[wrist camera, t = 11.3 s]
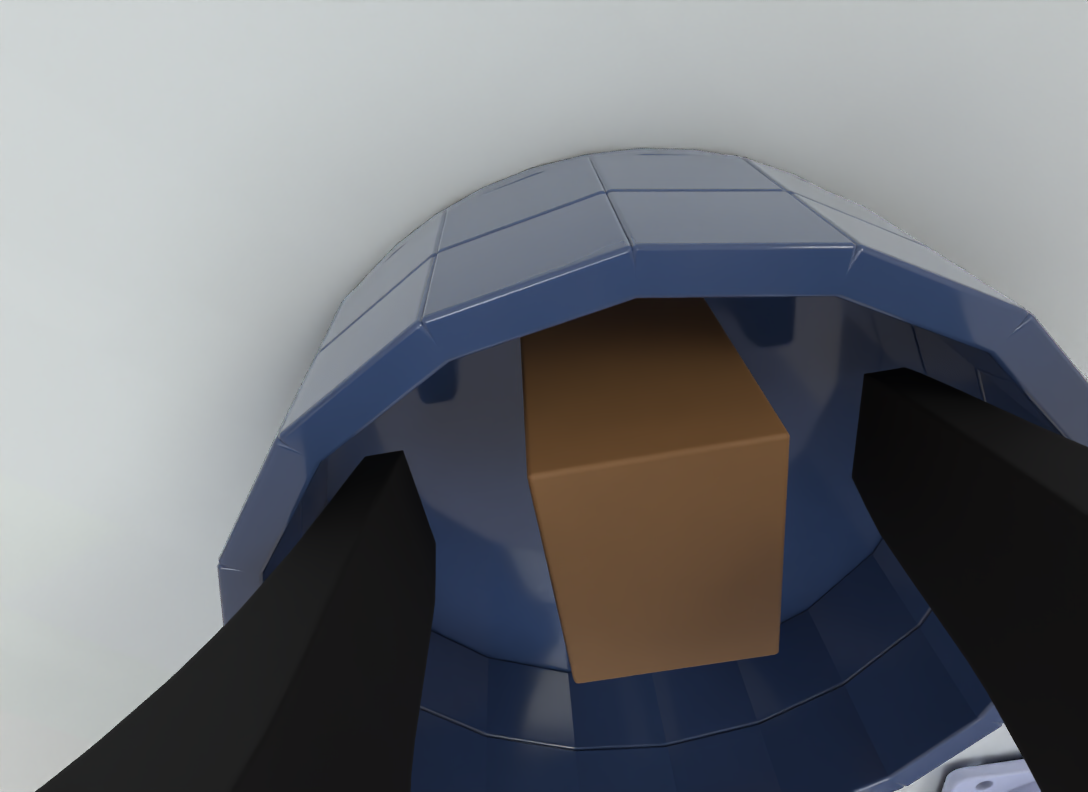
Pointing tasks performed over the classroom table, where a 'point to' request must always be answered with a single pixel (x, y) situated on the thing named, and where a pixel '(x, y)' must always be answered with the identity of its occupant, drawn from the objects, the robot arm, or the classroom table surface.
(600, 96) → the classroom table surface
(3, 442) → the classroom table surface
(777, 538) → the kraft packet
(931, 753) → the bowl
